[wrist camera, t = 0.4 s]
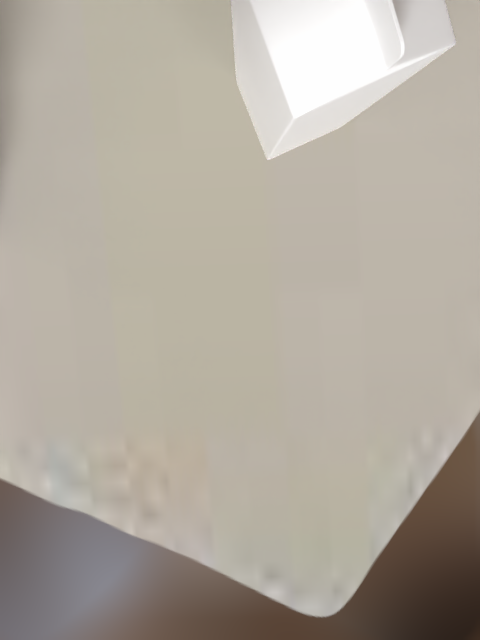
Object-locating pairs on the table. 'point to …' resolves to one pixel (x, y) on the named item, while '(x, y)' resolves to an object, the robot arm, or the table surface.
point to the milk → (328, 60)
